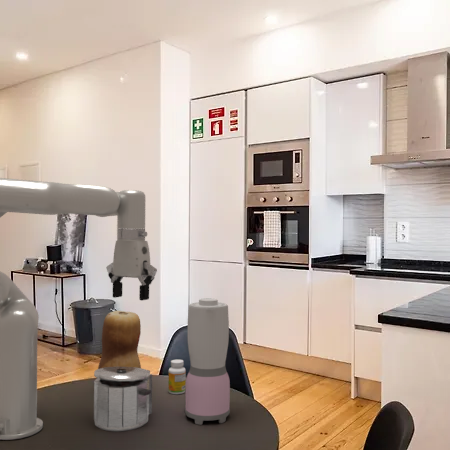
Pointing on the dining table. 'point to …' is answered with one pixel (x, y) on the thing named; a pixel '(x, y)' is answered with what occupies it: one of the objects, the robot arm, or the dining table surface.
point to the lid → (122, 373)
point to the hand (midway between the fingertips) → (130, 298)
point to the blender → (208, 361)
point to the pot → (122, 404)
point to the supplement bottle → (177, 377)
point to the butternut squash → (120, 340)
